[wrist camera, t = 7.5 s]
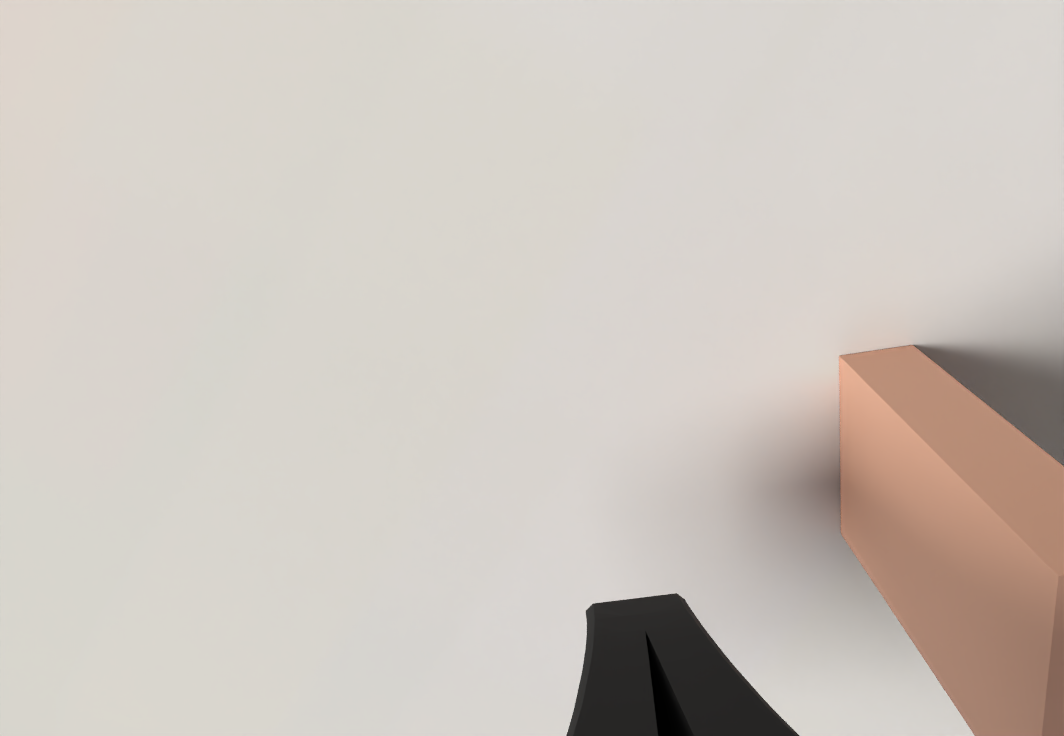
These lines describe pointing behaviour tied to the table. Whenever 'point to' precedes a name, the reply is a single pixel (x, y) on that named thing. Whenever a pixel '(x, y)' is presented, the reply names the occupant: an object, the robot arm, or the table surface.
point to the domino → (958, 536)
